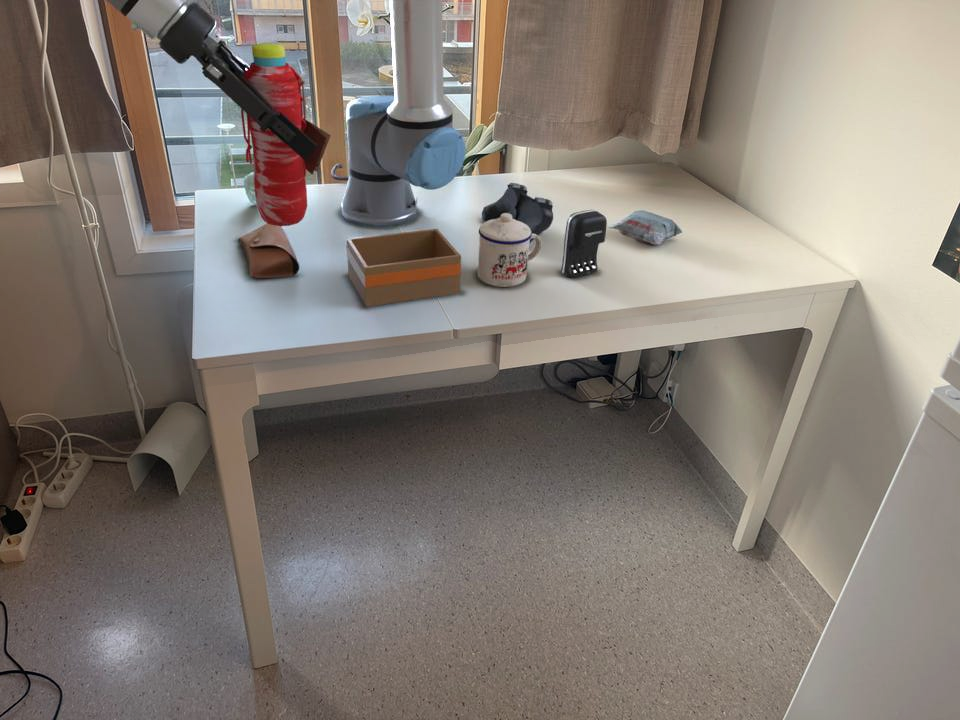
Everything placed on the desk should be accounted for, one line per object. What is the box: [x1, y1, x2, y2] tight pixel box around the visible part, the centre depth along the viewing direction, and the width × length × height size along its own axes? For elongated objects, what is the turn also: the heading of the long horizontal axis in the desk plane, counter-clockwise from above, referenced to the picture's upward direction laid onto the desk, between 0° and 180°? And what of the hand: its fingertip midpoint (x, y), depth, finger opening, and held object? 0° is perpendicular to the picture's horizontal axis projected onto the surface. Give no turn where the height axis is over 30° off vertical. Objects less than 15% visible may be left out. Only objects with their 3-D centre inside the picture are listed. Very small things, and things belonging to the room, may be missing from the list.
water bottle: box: [240, 42, 332, 227], centre depth 108 cm, size 12×8×25 cm, turn 122°
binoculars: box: [481, 182, 554, 244], centre depth 149 cm, size 16×7×10 cm, turn 32°
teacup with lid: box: [477, 213, 543, 288], centre depth 130 cm, size 12×9×12 cm
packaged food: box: [609, 209, 683, 246], centre depth 149 cm, size 9×12×5 cm
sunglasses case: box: [237, 222, 300, 279], centre depth 134 cm, size 18×7×7 cm, turn 23°
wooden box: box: [345, 228, 462, 308], centre depth 126 cm, size 12×16×7 cm
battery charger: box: [560, 209, 608, 278], centre depth 132 cm, size 7×4×11 cm, turn 120°
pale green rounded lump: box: [243, 171, 257, 206], centre depth 153 cm, size 8×4×7 cm, turn 24°
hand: (309, 143), depth 109 cm, fingers closed on water bottle, 7 cm apart
